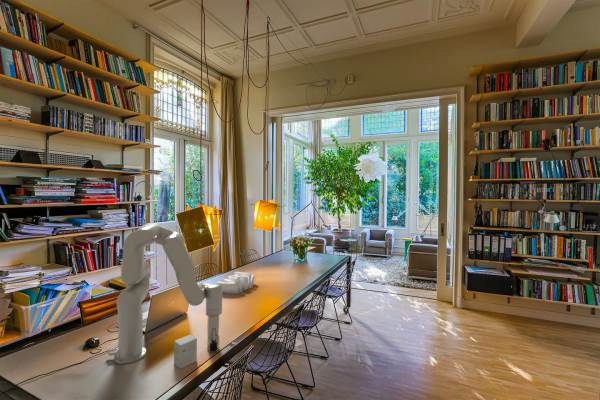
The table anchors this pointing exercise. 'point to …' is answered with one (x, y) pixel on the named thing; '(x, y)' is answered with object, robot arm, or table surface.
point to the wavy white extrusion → (237, 283)
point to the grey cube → (210, 342)
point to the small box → (185, 351)
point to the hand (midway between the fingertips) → (213, 346)
